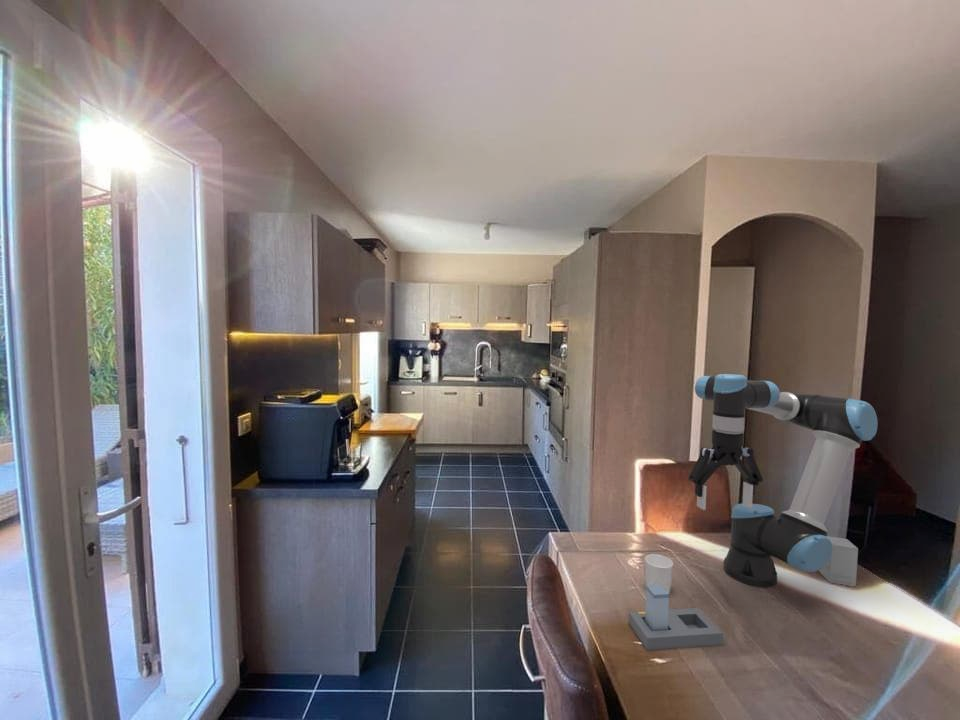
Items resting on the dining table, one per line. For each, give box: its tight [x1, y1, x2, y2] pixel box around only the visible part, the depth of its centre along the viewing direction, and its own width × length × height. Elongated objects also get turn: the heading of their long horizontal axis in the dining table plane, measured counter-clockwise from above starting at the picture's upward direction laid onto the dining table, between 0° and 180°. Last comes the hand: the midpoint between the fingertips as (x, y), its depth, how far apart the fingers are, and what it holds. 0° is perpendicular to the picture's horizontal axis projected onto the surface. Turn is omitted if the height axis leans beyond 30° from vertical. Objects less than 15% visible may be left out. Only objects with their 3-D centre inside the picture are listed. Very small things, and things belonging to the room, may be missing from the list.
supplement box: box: [818, 536, 859, 587], centre depth 139 cm, size 7×7×13 cm
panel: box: [628, 607, 724, 651], centre depth 111 cm, size 20×10×4 cm, turn 96°
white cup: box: [644, 553, 674, 594], centre depth 130 cm, size 8×8×10 cm
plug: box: [644, 585, 670, 631], centre depth 110 cm, size 4×4×12 cm
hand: (724, 507), depth 117 cm, fingers open, 13 cm apart
